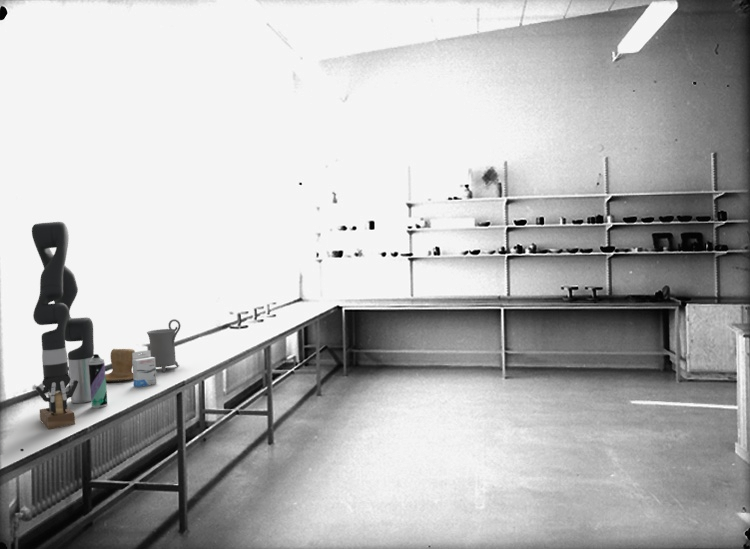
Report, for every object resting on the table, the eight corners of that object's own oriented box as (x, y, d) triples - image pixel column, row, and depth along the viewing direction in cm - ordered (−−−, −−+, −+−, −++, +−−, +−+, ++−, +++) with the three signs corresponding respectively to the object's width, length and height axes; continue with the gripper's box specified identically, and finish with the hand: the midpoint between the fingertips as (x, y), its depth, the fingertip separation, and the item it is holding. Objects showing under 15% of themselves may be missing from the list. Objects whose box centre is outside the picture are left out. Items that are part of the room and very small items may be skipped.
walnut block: (40, 420, 210) (39, 409, 210) (65, 415, 215) (64, 404, 215) (48, 429, 198) (48, 417, 198) (75, 423, 203) (74, 412, 203)
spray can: (88, 407, 225) (84, 355, 224) (99, 403, 230) (96, 352, 229) (99, 408, 223) (95, 355, 222) (110, 404, 228) (107, 353, 227)
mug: (140, 372, 289) (136, 322, 288) (156, 366, 304) (153, 318, 303) (175, 372, 286) (172, 321, 285) (190, 366, 300) (187, 317, 299)
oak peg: (53, 422, 203) (51, 393, 203) (63, 420, 205) (61, 391, 205) (55, 423, 201) (53, 394, 201) (65, 421, 203) (63, 392, 203)
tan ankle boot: (141, 376, 280) (139, 345, 279) (132, 382, 268) (130, 349, 267) (108, 378, 279) (106, 347, 278) (98, 384, 267) (95, 351, 267)
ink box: (137, 387, 256) (135, 353, 256) (133, 385, 260) (131, 352, 259) (157, 383, 262) (154, 350, 262) (152, 382, 266) (150, 349, 265)
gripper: (74, 357, 210) (78, 405, 210) (30, 363, 201) (33, 414, 202) (79, 359, 204) (83, 409, 205) (34, 366, 195) (38, 418, 196)
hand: (58, 411), depth 203 cm, fingers closed on oak peg, 2 cm apart
